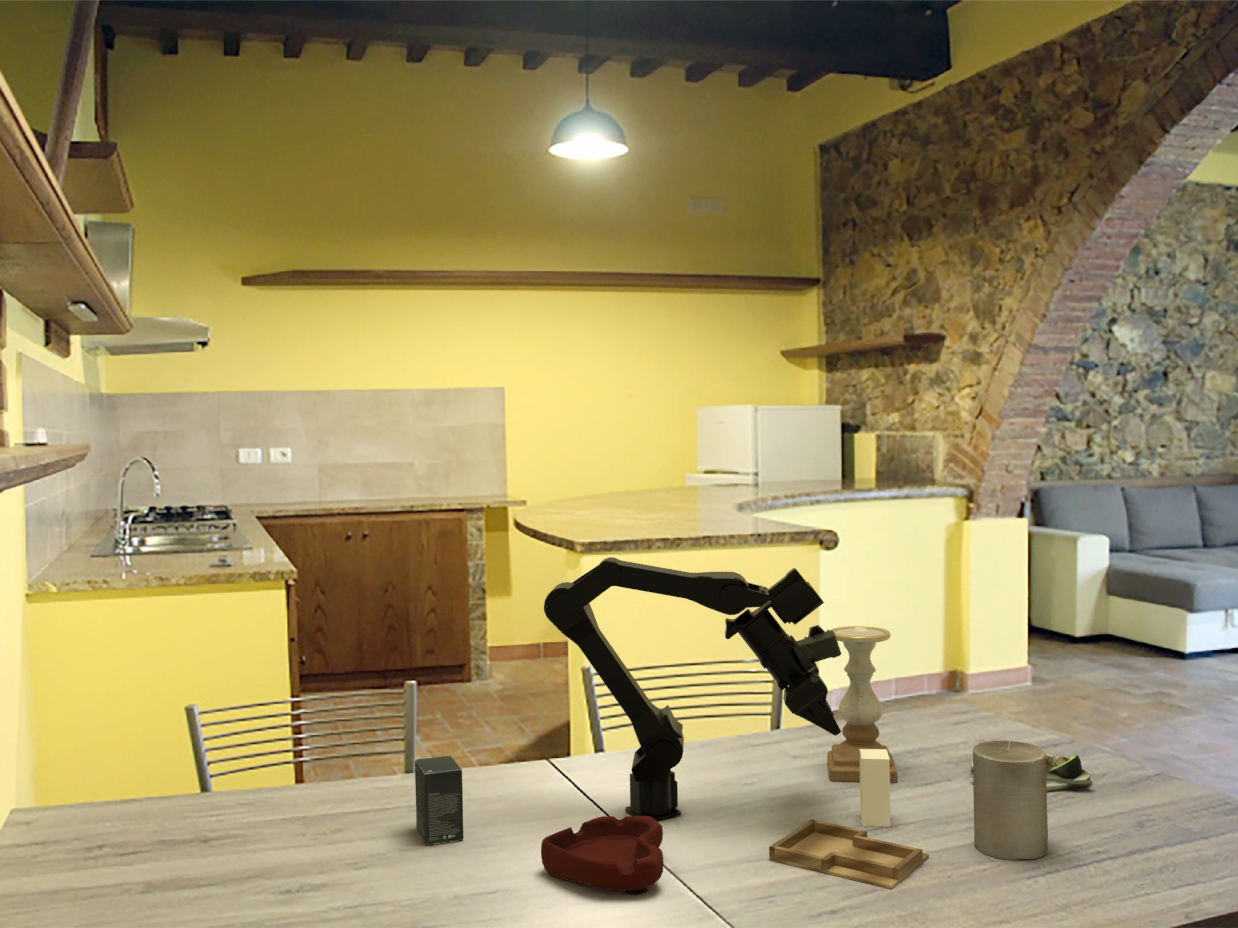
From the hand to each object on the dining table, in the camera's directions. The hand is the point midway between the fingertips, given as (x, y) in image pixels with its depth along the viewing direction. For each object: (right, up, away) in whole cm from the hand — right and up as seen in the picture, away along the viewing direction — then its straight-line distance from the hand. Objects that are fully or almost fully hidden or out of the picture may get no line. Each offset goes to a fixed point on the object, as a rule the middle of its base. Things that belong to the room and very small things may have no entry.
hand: (834, 725), depth 173 cm
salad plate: (+36, -13, +16) cm, 41 cm away
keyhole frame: (-1, -14, -17) cm, 22 cm away
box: (-59, -15, -4) cm, 61 cm away
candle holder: (+8, -13, +21) cm, 26 cm away
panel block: (+6, -14, -2) cm, 15 cm away
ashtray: (-35, -16, -20) cm, 43 cm away
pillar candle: (+22, -14, -14) cm, 29 cm away
